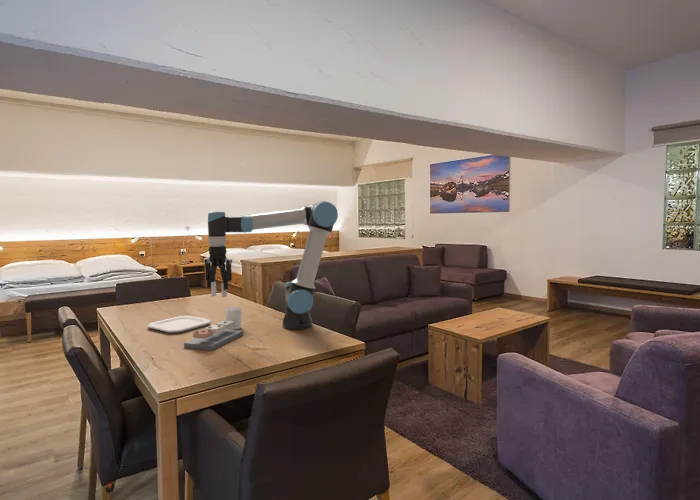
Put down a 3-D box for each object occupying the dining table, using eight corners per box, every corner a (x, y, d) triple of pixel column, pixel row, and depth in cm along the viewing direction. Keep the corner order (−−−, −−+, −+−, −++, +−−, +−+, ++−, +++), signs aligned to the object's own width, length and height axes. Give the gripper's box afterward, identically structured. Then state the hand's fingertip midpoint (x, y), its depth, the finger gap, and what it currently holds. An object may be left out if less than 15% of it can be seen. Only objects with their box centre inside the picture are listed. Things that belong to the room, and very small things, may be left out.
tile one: (234, 325, 196) (234, 320, 196) (227, 328, 190) (226, 324, 190) (223, 324, 198) (223, 319, 198) (215, 327, 192) (215, 323, 192)
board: (243, 334, 196) (243, 330, 196) (211, 350, 173) (211, 345, 173) (218, 332, 200) (217, 328, 200) (184, 347, 178) (183, 342, 178)
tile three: (213, 334, 181) (213, 329, 181) (204, 338, 175) (204, 333, 175) (202, 333, 183) (201, 328, 183) (193, 337, 177) (192, 332, 177)
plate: (173, 336, 195) (173, 331, 195) (142, 329, 208) (142, 324, 208) (215, 324, 216) (215, 320, 216) (185, 318, 229) (185, 314, 229)
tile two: (224, 330, 188) (224, 325, 188) (216, 333, 183) (216, 328, 183) (213, 329, 190) (213, 324, 190) (204, 332, 185) (204, 327, 184)
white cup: (237, 330, 203) (237, 310, 203) (222, 329, 205) (222, 310, 204) (244, 326, 211) (244, 307, 210) (230, 325, 213) (230, 306, 212)
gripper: (239, 245, 188) (240, 295, 190) (206, 244, 193) (207, 293, 195) (229, 246, 181) (231, 299, 183) (195, 245, 186) (197, 296, 188)
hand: (219, 296), depth 189 cm, fingers open, 5 cm apart
